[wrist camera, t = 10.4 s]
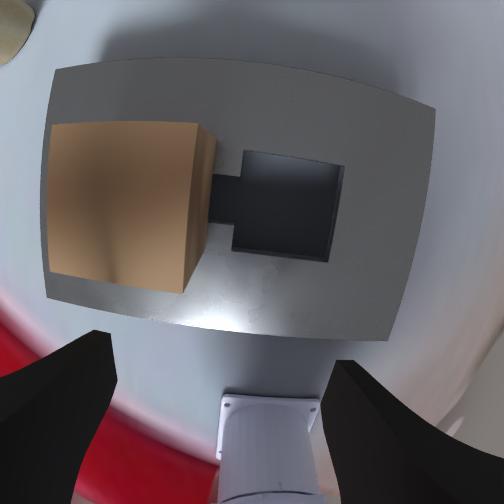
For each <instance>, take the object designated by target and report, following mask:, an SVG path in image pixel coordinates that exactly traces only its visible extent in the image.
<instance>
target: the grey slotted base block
mask: <svg viewBox="0 0 504 504" xmlns="http://www.w3.org/2000/svg"><path fill="white" fill-rule="evenodd" d="M435 111H436V109H434V108H432V107H429V106H427V105H424V104H422V103H419V102H417V101H414V100H411V99H409V98H406V97H403V96H400V95H398V94H395V93H392V92H389V91H386V90H382V89H379V88H376V87H373V86H369V85H366V84H363V83H359V82H355V81H352V80H348V79H344V78H340V77H336V76H332V75H327V74H323V73H318V72H313V71H308V70H303V69H298V68H292V67H286V66H280V65H273V64H266V63H258V62H249V61H239V60H227V59H211V58H144V59H128V60H117V61H107V62H99V63H91V64H84V65H78V66H72V67H66V68H61V69H56V70H55V74H54V79H53V83H52V88H51V93H50V99H49V104H48V110H47V117H46V124H45V131H44V140H43V150H42V163H41V181H40V229H41V247H42V260H43V270H44V279H45V287H46V294H47V298H50V299H54V300H58V301H63V302H67V303H71V304H75V305H80V306H84V307H88V308H93V309H98V310H102V311H107V312H112V313H117V314H122V315H128V316H133V317H138V318H144V319H150V320H156V321H162V322H168V323H174V324H181V325H187V326H194V327H202V328H209V329H217V330H225V331H234V332H243V333H252V334H262V335H273V336H285V337H299V338H314V339H333V340H360V341H388V338H389V335H390V333H391V330H392V327H393V324H394V321H395V318H396V315H397V312H398V309H399V306H400V303H401V300H402V296H403V293H404V290H405V286H406V283H407V279H408V276H409V272H410V268H411V265H412V261H413V257H414V253H415V249H416V244H417V240H418V236H419V231H420V226H421V221H422V216H423V211H424V206H425V200H426V194H427V188H428V182H429V175H430V167H431V159H432V150H433V140H434V127H435ZM103 121H164V122H186V123H198V124H200V125H201V126H202V127H203V128H204V129H205V130H207V131H208V132H209V133H210V134H211V135H212V136H214V137H215V138H216V139H217V144H216V152H215V160H214V168H213V174H221V175H230V176H239V177H240V176H241V168H242V160H243V153H244V151H250V152H258V153H265V154H273V155H279V156H286V157H292V158H299V159H305V160H310V161H316V162H322V163H327V164H332V165H337V166H340V169H339V176H338V183H337V189H336V195H335V201H334V207H333V213H332V219H331V225H330V230H329V236H328V241H327V246H326V251H325V256H324V258H321V257H313V256H305V255H296V254H288V253H280V252H272V251H263V250H255V249H247V248H239V247H232V242H233V233H234V225H235V222H228V221H219V220H211V219H208V223H207V233H206V244H205V251H204V253H203V255H202V257H201V259H200V260H199V262H198V264H197V266H196V268H195V270H194V272H193V274H192V276H191V278H190V280H189V282H188V284H187V286H186V289H185V291H184V293H183V294H177V293H170V292H164V291H157V290H150V289H144V288H138V287H132V286H125V285H119V284H114V283H108V282H102V281H97V280H91V279H86V278H80V277H75V276H70V275H65V274H60V273H55V272H50V267H49V256H48V240H47V174H48V159H49V147H50V138H51V129H52V125H55V124H66V123H81V122H103Z"/></svg>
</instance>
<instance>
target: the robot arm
mask: <svg viewBox="0 0 504 504" xmlns="http://www.w3.org/2000/svg"><path fill="white" fill-rule="evenodd" d="M117 381H118V380H117V374H116V368H115V362H114V355H113V348H112V341H111V333H106V332H102V331H98V330H93V331H91V332H89V333H87V334H85V335H83V336H81V337H79V338H78V339H76V340H74V341H72V342H71V343H69V344H67V345H65V346H64V347H62V348H60V349H58V350H56V351H55V352H53V353H51V354H49V355H48V356H46V357H44V358H42V359H40V360H38V361H36V362H34V363H32V364H30V365H28V366H26V367H24V368H22V369H20V370H17V371H15V372H13V373H10V374H8V375H5V376H3V377H0V504H71V499H72V495H73V491H74V487H75V483H76V480H77V476H78V473H79V470H80V466H81V463H82V461H83V458H84V456H85V454H86V451H87V449H88V447H89V445H90V443H91V441H92V439H93V437H94V435H95V433H96V431H97V429H98V427H99V425H100V423H101V421H102V419H103V417H104V415H105V413H106V411H107V409H108V407H109V404H110V402H111V399H112V396H113V393H114V390H115V387H116V384H117ZM225 403H229V404H225ZM320 406H321V415H322V422H323V430H324V434H325V437H326V441H327V445H328V448H329V452H330V456H331V459H332V463H333V467H334V470H335V474H336V478H337V481H338V486H339V490H340V497H341V504H504V458H501V457H497V456H494V455H491V454H488V453H485V452H483V451H480V450H478V449H475V448H473V447H471V446H469V445H466V444H464V443H462V442H460V441H458V440H456V439H454V438H452V437H451V436H449V435H447V434H445V433H444V432H442V431H440V430H439V429H437V428H436V427H434V426H432V425H431V424H429V423H428V422H426V421H425V420H424V419H422V418H421V417H420V416H418V415H417V414H416V413H414V412H413V411H412V410H410V409H409V408H408V407H407V406H405V405H404V404H403V403H402V402H400V401H399V400H398V399H397V398H396V397H395V396H393V395H392V394H391V393H390V392H389V391H388V390H387V389H386V388H384V387H383V386H382V385H381V384H380V383H379V382H378V381H377V380H376V379H375V378H373V377H372V376H371V375H370V374H369V373H368V372H367V371H366V370H365V369H364V368H362V367H361V366H360V365H359V364H358V363H357V362H355V361H354V360H336V363H335V366H334V368H333V371H332V374H331V377H330V380H329V382H328V385H327V388H326V390H325V393H324V396H323V398H322V401H321V403H320V401H319V400H318V399H296V398H273V397H257V396H245V395H234V394H224V395H223V396H222V398H221V408H220V418H219V428H218V439H217V449H216V458H217V459H220V460H221V463H220V476H219V489H218V503H217V504H327V503H326V498H325V494H321V492H320V487H319V482H318V477H317V472H316V467H315V462H314V457H313V452H312V447H311V442H310V437H309V433H310V430H311V428H312V425H313V423H314V420H315V418H316V415H317V413H318V410H319V408H320ZM311 408H313V409H311Z"/></svg>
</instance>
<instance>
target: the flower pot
mask: <svg viewBox="0 0 504 504" xmlns="http://www.w3.org/2000/svg"><path fill="white" fill-rule="evenodd" d="M34 18H35V14H34V10H33V8H32V7H31V6H29V5H28V4H27V3H26V2H25V1H24V0H0V66H1V65H3V64H6V63H8V62H9V61H10V60H11V59H12V58H13V57H14V56H15V55H16V54H17V53H18V51H19V50H20V49H21V47H22V46H23V44H24V43H25V41H26V40H27V38H28V36H29V34H30V32H31V25H32V22H33V20H34Z"/></svg>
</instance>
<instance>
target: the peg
mask: <svg viewBox="0 0 504 504" xmlns="http://www.w3.org/2000/svg"><path fill="white" fill-rule="evenodd" d="M216 144H217V139H216V138H215V137H214V136H212V135H211V134H210V133H209V132H208V131H207V130H205V129H204V128H203V127H202V126H201V125H200V124H198V123H186V122H164V121H103V122H81V123H66V124H55V125H52V129H51V138H50V147H49V159H48V174H47V240H48V256H49V267H50V272H55V273H60V274H65V275H70V276H75V277H80V278H86V279H91V280H97V281H102V282H108V283H114V284H119V285H125V286H132V287H138V288H144V289H150V290H157V291H164V292H170V293H177V294H183V293H184V291H185V289H186V286H187V284H188V282H189V280H190V278H191V276H192V274H193V272H194V270H195V268H196V266H197V264H198V262H199V260H200V259H201V257H202V255H203V253H204V251H205V244H206V233H207V223H208V213H209V203H210V194H211V185H212V176H213V168H214V160H215V152H216Z"/></svg>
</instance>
